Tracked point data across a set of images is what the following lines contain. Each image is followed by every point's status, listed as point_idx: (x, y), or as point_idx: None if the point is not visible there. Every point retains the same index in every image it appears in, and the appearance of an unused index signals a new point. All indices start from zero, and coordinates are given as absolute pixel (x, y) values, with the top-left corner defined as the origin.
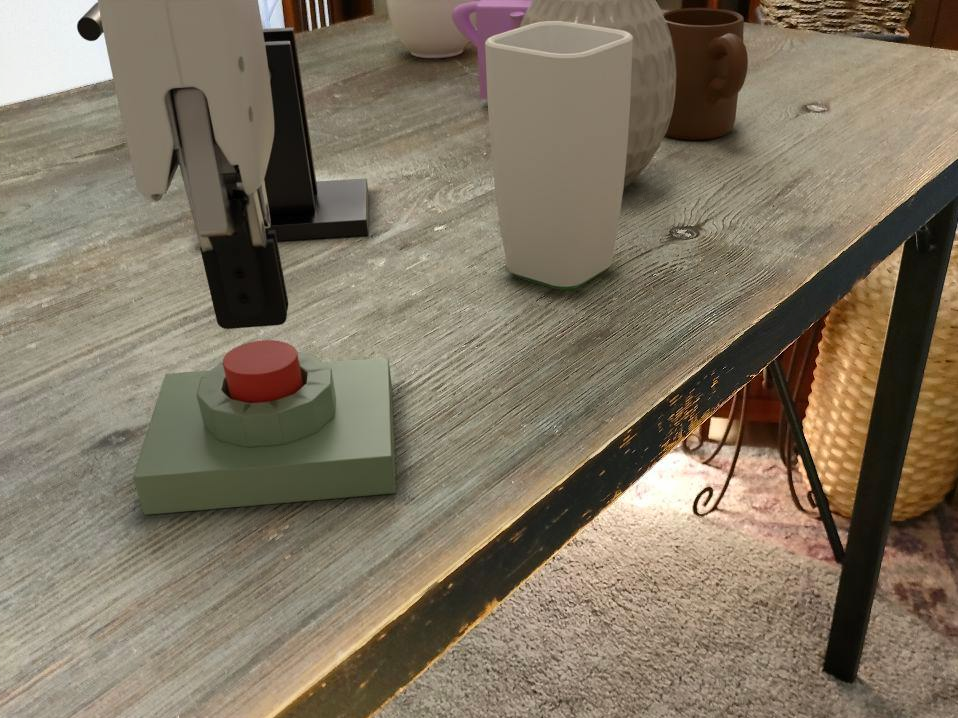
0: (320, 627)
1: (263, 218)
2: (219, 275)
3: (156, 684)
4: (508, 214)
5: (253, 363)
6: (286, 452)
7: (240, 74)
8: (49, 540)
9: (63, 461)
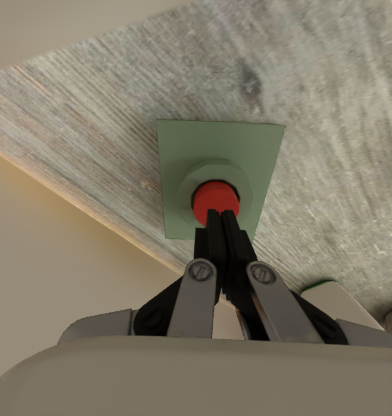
0: (89, 200)
1: (236, 309)
2: (208, 242)
3: (45, 141)
4: (347, 311)
5: (207, 207)
6: (172, 201)
7: None
8: (141, 56)
9: (232, 43)
